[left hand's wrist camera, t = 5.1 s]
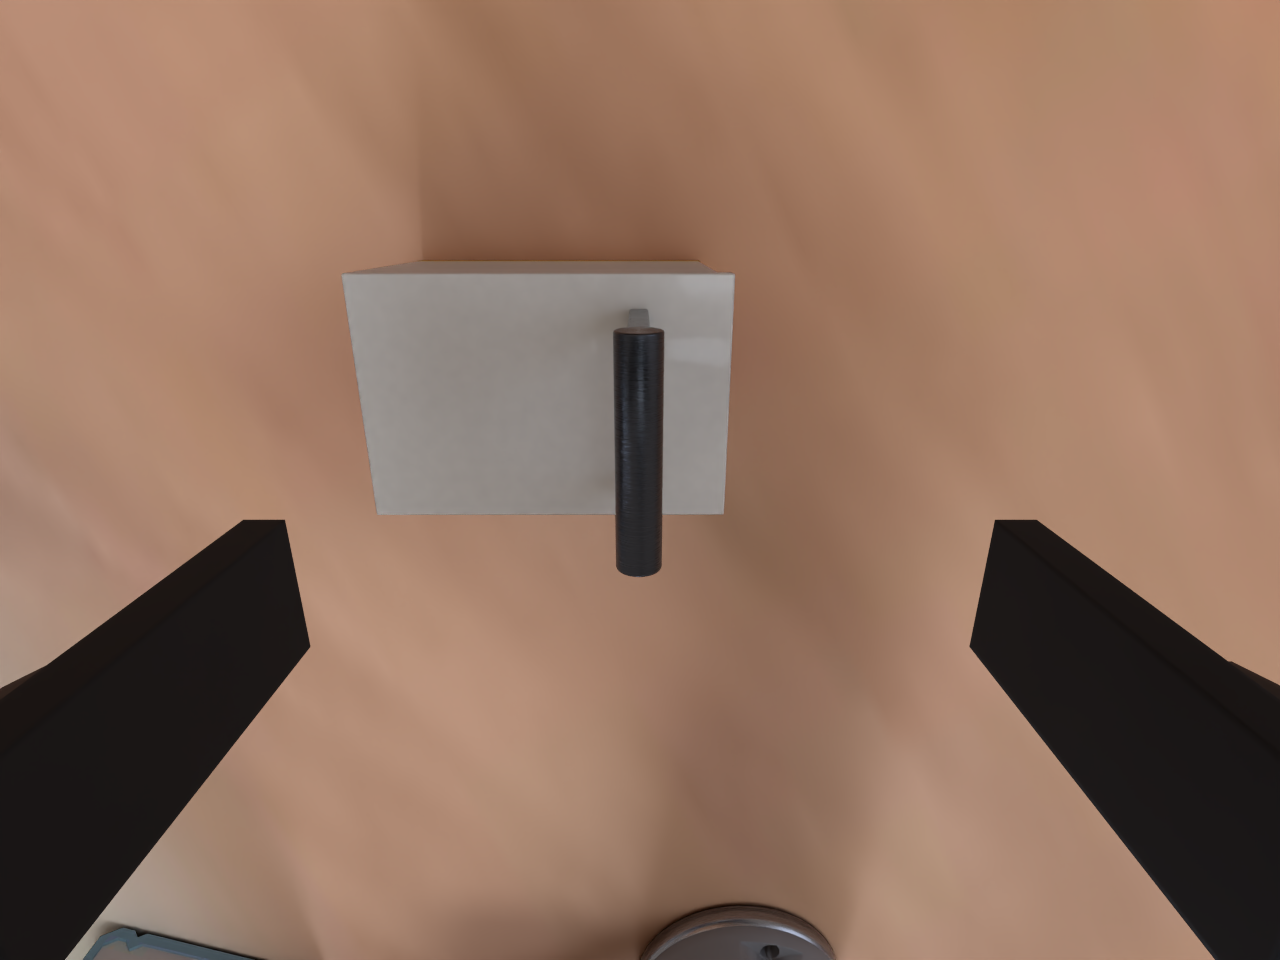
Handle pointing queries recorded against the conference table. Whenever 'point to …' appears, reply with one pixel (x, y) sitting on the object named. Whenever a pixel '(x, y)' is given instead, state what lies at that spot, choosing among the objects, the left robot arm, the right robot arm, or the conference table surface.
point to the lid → (546, 395)
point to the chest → (547, 266)
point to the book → (150, 948)
